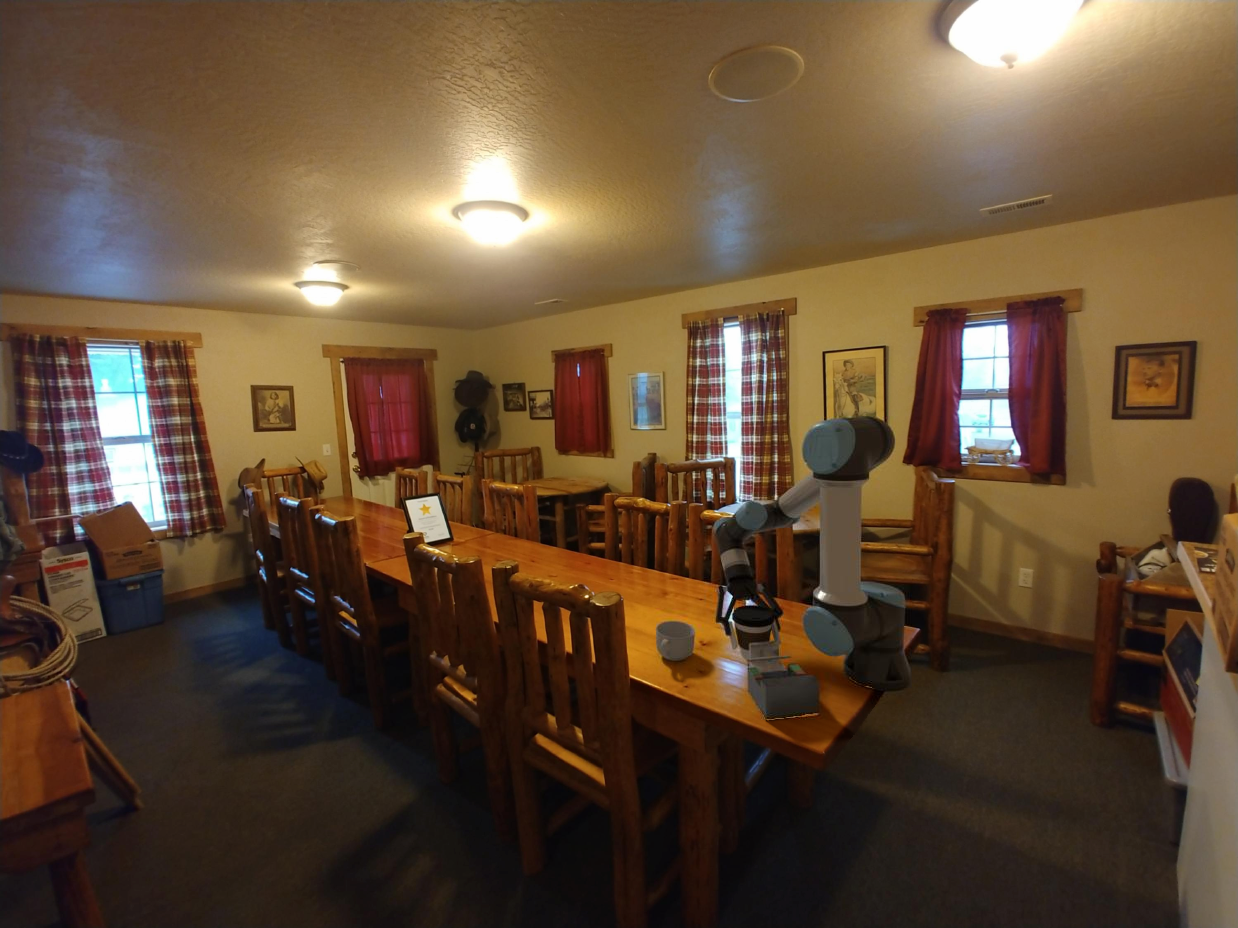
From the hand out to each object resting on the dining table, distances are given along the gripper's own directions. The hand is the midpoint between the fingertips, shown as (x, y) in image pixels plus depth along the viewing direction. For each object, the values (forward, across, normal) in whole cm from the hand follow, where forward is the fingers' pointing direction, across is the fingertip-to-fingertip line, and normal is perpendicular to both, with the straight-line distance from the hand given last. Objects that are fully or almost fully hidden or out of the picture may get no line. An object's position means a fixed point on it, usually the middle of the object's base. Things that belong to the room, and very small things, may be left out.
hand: (757, 645), depth 132 cm
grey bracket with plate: (+9, 0, +2) cm, 9 cm away
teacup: (-2, +20, -11) cm, 23 cm away
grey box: (+16, 0, +7) cm, 17 cm away
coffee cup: (+1, 0, -5) cm, 5 cm away
